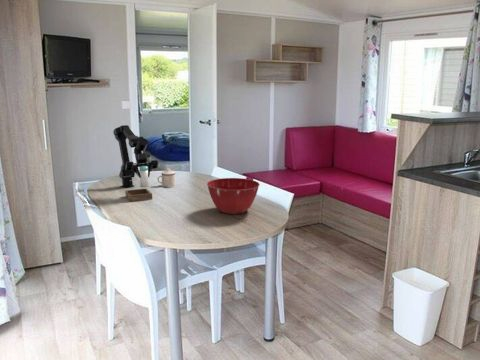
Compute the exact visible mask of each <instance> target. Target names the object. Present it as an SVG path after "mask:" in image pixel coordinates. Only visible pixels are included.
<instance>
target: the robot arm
mask: <svg viewBox="0 0 480 360" xmlns="http://www.w3.org/2000/svg"><path fill="white" fill-rule="evenodd" d="M112 133H113V135H114V138H115V140H116V141H117V142H118V146H119V151H120V157H121V162H122V163H121V166H120V172H119V175H118V176H119V178H120V179H121V182H122V183H121V184H122V185H120V187H121V188H126V189H129V188H132V187H135V185H134V184H133V178H135V174H136V176H137V177H138V178H139V179H140V177H141V176H140V168H139V167H140V166H148V178H149V177H150V176H151V175H150V174H151V171H152V170H154V169H158V166H159V161H158V159H151V160H150V162H148V159H149V158H150V157H151V153H150V151H146V152H145V150H147V146H148V144H149V140H148V139H146V138H144V136H138V135H136V134H135V133H134V132H133V131H132V130H131V127H130V126H129V125H128V124H124V125H120V126H119V127H116V128H114V130H113V131H112ZM127 140H128V144H127ZM128 146H129V147H130V148H133V154H134V157H135V162H134V161H130V156H129V150H128Z"/></svg>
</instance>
